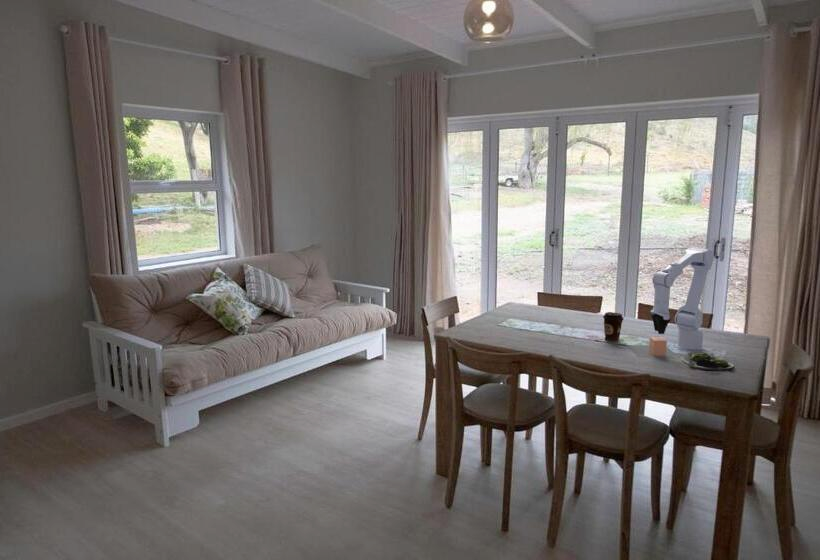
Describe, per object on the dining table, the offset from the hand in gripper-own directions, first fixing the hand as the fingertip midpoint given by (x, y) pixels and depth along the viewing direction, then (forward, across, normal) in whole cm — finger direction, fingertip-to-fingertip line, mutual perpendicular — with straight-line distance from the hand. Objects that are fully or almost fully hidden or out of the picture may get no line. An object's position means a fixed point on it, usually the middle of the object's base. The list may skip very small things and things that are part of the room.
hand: (659, 332), depth 232 cm
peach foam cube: (+10, 0, 0) cm, 10 cm away
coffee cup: (+10, -20, -14) cm, 26 cm away
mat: (+10, -4, -1) cm, 11 cm away
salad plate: (+10, +12, +15) cm, 22 cm away
